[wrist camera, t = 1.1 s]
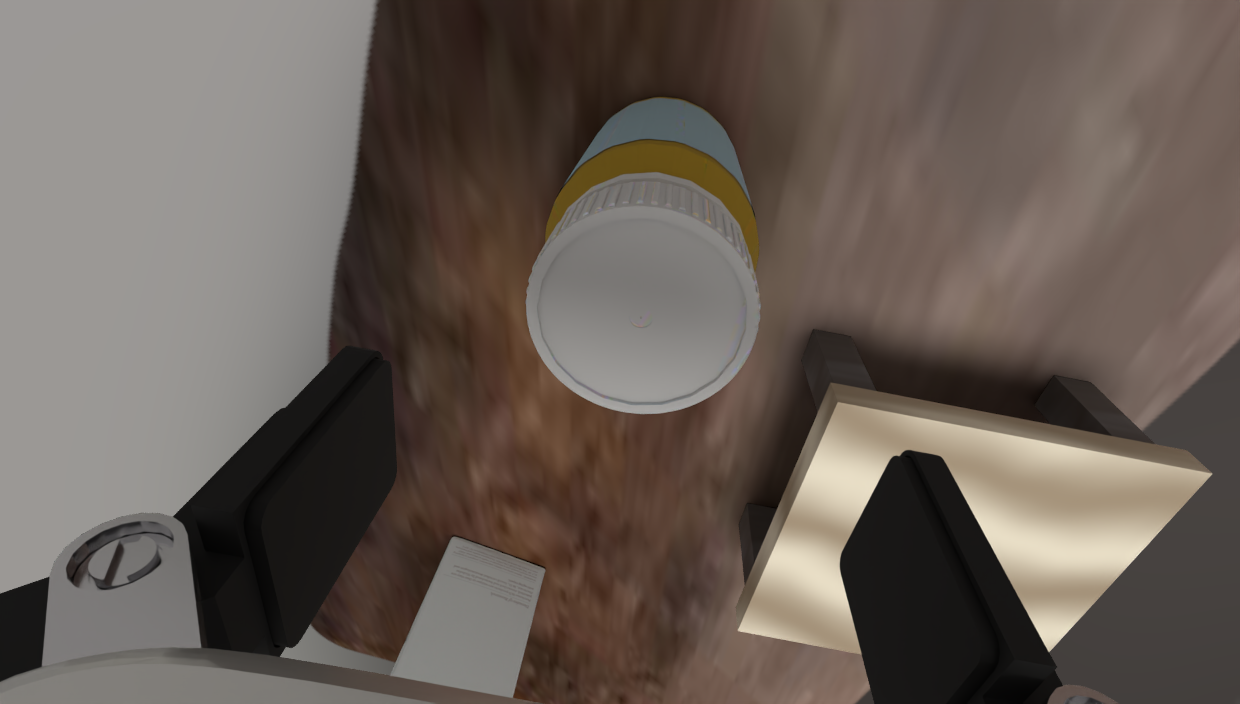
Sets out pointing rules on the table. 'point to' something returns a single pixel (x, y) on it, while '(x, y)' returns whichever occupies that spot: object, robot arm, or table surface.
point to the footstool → (990, 482)
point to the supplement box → (473, 621)
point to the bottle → (649, 264)
